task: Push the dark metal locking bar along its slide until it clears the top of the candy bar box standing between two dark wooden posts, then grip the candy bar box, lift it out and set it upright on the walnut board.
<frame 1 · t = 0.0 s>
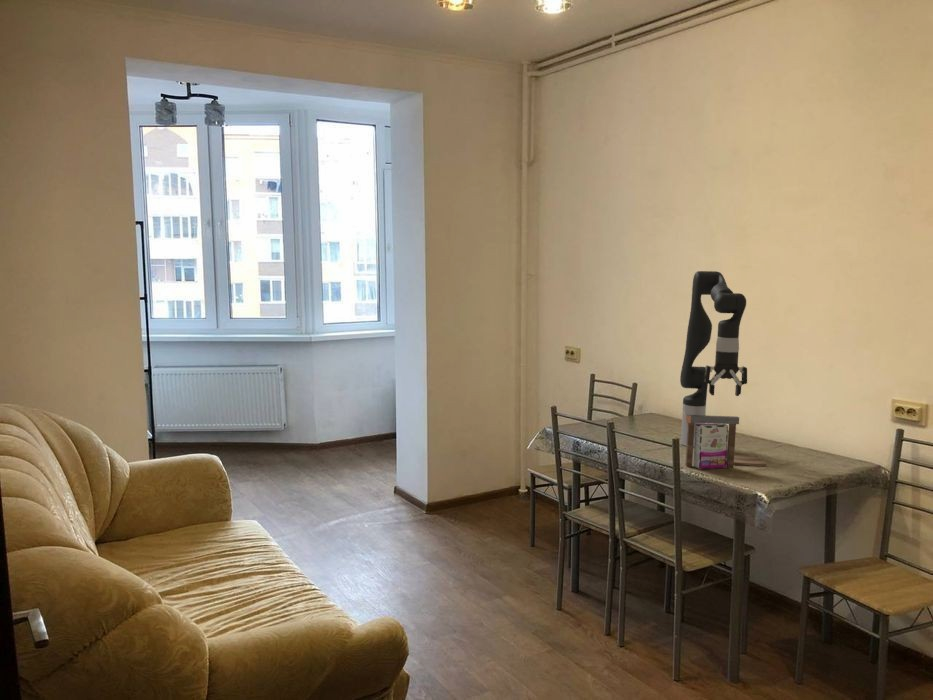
hand: (724, 395, 252), 29 cm above the table, tool pointing down, fingers open, 8 cm apart
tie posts: (709, 467, 266), on the table
walnut board: (740, 461, 275), on the table
candy bar box: (709, 467, 266), on the table
locking bar: (711, 419, 264), point 18 cm above the table, slide at 0.0 cm
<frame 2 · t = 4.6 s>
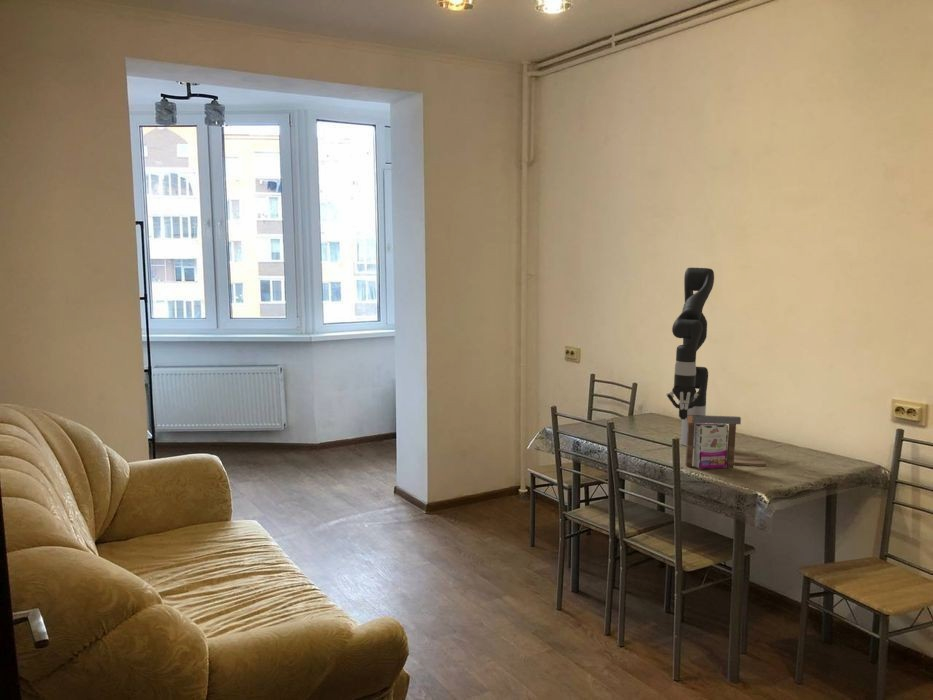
hand: (682, 419, 265), 18 cm above the table, tool pointing down, fingers closed
locking bar: (713, 419, 264), point 18 cm above the table, slide at 0.6 cm, touching gripper
everything else where it was.
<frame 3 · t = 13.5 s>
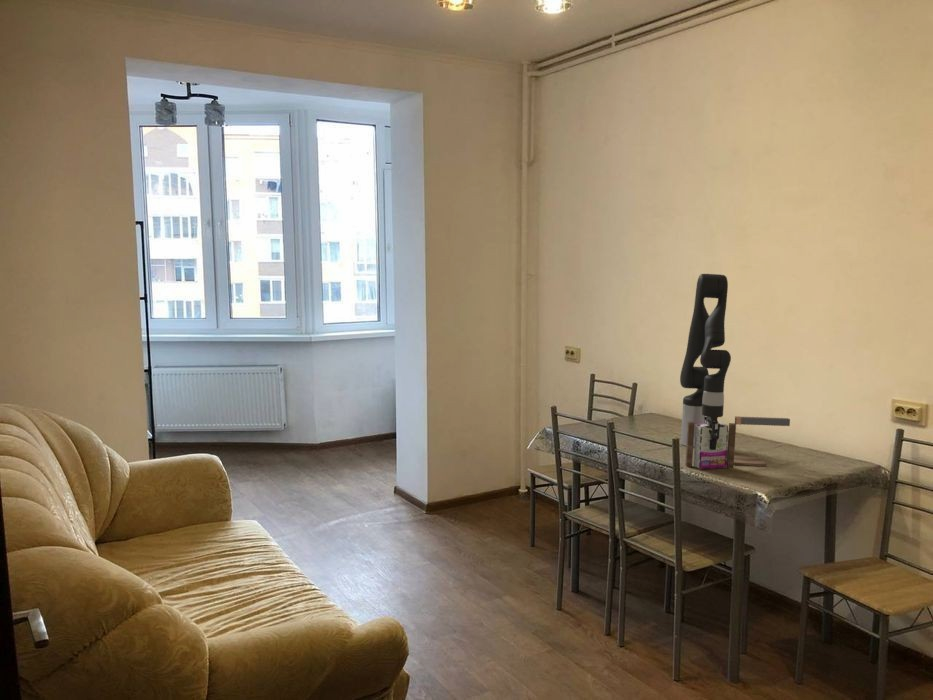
hand: (710, 447, 265), 8 cm above the table, tool pointing down, fingers closed on candy bar box, 6 cm apart
candy bar box: (709, 467, 266), on the table, touching gripper
locking bar: (762, 421, 263), point 18 cm above the table, slide at 18.1 cm
when the fingers open (10 cm above the table, at t = 22.3 s): candy bar box drops 1 cm, resting on walnut board.
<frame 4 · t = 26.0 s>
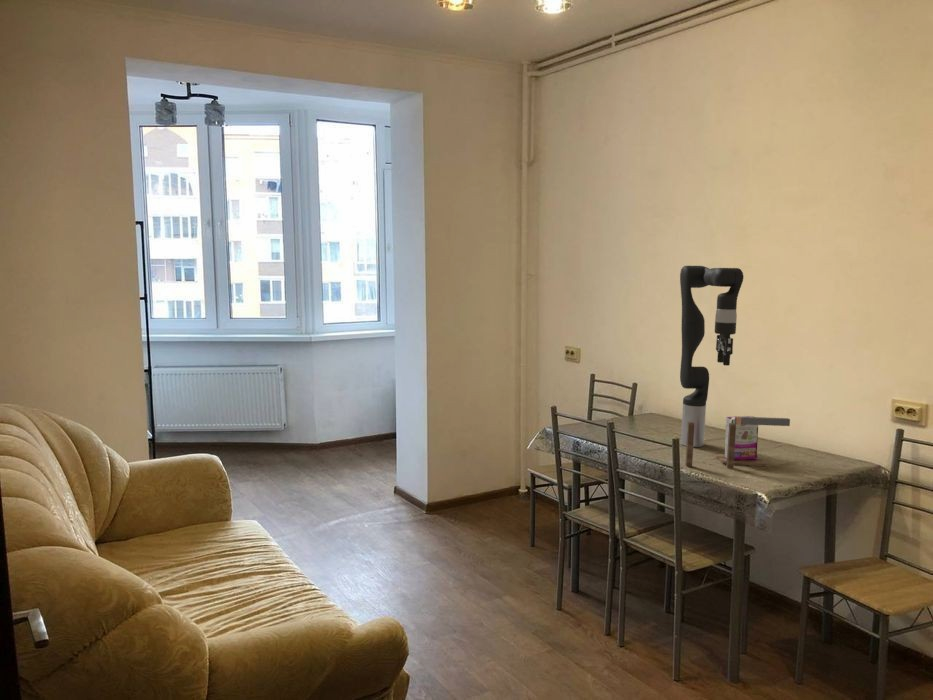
hand: (723, 363, 269), 38 cm above the table, tool pointing down, fingers open, 8 cm apart
candy bar box: (740, 459, 275), point 1 cm above the table, touching walnut board
everything else where it was.
at the end: locking bar slide at 18.1 cm; candy bar box inside the target area on the walnut board (0.1 cm from its centre), point 0.8 cm above the walnut board's base; candy bar box tilted 0° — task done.
